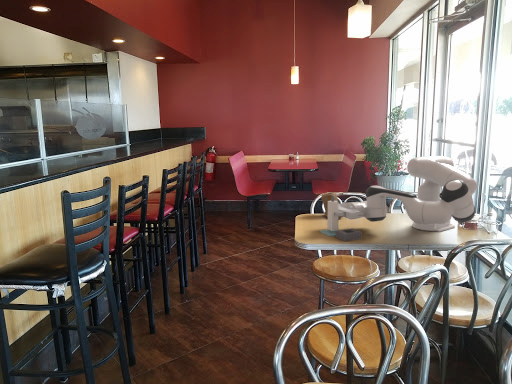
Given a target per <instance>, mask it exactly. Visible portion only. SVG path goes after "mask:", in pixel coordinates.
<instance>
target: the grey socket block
mask: <svg viewBox="0 0 512 384" xmlns="http://www.w3.org/2000/svg"><path fill="white" fill-rule="evenodd" d="M335 238H336V239H339V240H340V241H343V242H348V241H355V240H356V241H357V240H361V239H362V231H360V230H358V229H355V228H346V229H338V230H337V231H336V236H335Z"/></svg>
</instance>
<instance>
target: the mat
mask: <svg viewBox="0 0 512 384" xmlns="http://www.w3.org/2000/svg"><path fill="white" fill-rule="evenodd" d="M336 231H337V230H334V231H331V230H329V229H324V230H323V229H321V230H319V231H318V232H319V233H321V234H323V235H325V236H328V237H330V238H331V237H336Z"/></svg>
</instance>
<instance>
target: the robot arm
mask: <svg viewBox="0 0 512 384" xmlns="http://www.w3.org/2000/svg"><path fill="white" fill-rule="evenodd" d="M406 169H407V172H408V175H410V176H411V177H413V178H414V177H415V178H418V179H419V178H420V179H423V180H424V181H423V183H421V184H420V185H419V186H418V188H417V195H416V194H415V193H411V192H408V191H404V190H399V189H393V188H387V187H385V186H380V185H369V187H368V188H367V189H366V190H365V197H366V200H364V201H355V202H354V201H352V202H349V201H348V202H346V201H344V202H343V201H342V202H341V203H339V212H334V216H342V218H345V219H348V220H356V219H361V218H365V219H366V220H367V221H369V222H372V223H374V222H380V221H383V220H385V219H386V218H387V201H386V199H387V198H391V199H395V200H396V199H397V200H399V201H400V202H401V203H402V205H403V207H404V209H405V211H406V214H407V216H408V218H409V219H410V220H411V221H412V228H414V229H417V230H421V231H427V232H428V231H430V232H431V231H432V232H444V231H447V230H451V229H454V228H455V226H456V225H454V224H453V223H451V219H453V220H454V221H456V222H458V223H467V222H470V221H471V220H473V219H474V217H475V214H476V206H475V204H474V199H473V197H472V195H474V194H475V193H476V191H477V188H478V184H477V181H476V180H475V179H474V178H473V177H472V176H471V175H469V174H467V173H466V172H464V171H462V170H461V169H459V168H457V167H455V165H454V161H453V159H452V158H450V157H448V156H444V155H430V156H418V157H413V158H411V159H409V161H408V162H407V166H406Z"/></svg>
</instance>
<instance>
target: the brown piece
mask: <svg viewBox="0 0 512 384" xmlns="http://www.w3.org/2000/svg"><path fill="white" fill-rule="evenodd" d="M332 195H335V201H338V202H339V200H338V194H337V193H336V192H334V191H333V192H325V193H321V202H322V204H323V206H324V213H323V215H324V216H326V217H327V218H328V201H332ZM342 218H343V217H342V216H338V220H339V219H342Z"/></svg>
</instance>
